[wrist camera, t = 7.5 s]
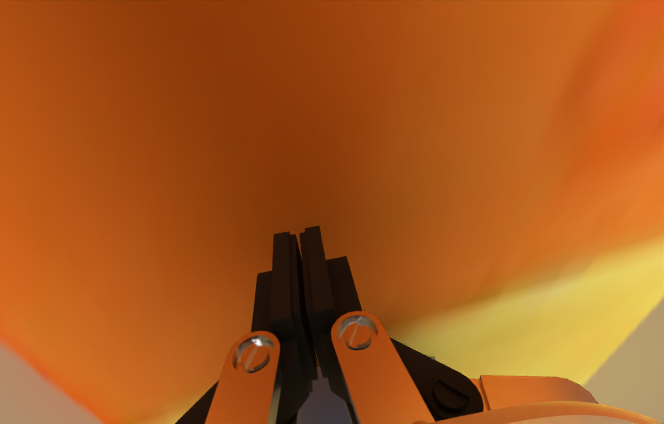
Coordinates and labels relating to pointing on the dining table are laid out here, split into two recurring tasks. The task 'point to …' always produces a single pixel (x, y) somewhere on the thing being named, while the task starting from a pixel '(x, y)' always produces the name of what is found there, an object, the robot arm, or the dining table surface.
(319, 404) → the ball
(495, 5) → the dining table surface
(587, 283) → the dining table surface
